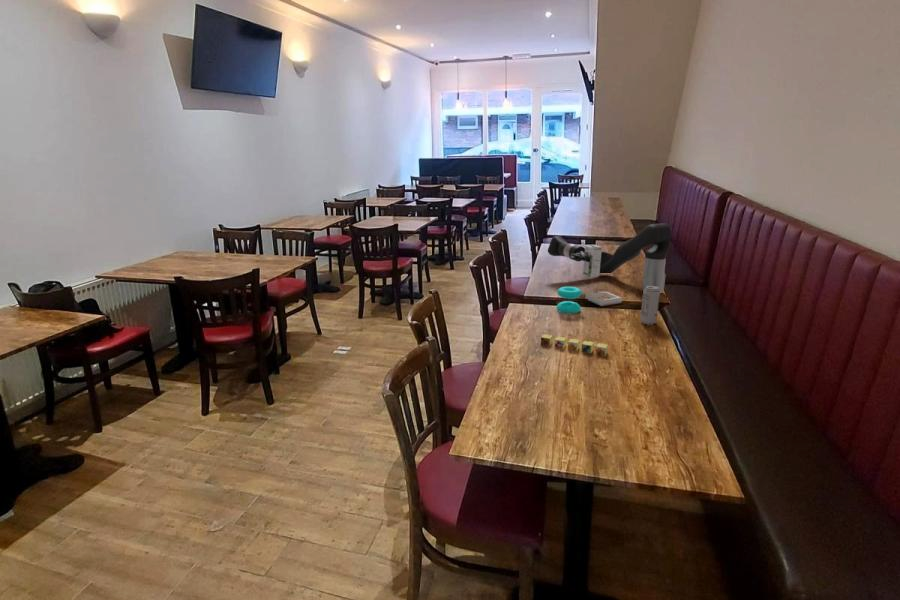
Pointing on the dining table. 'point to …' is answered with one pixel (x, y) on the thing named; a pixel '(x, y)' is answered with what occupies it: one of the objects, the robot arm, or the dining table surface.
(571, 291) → the donuts
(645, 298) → the energy drink can
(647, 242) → the robot arm
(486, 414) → the dining table surface
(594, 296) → the tray
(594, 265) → the syrup box
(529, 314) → the dining table surface
